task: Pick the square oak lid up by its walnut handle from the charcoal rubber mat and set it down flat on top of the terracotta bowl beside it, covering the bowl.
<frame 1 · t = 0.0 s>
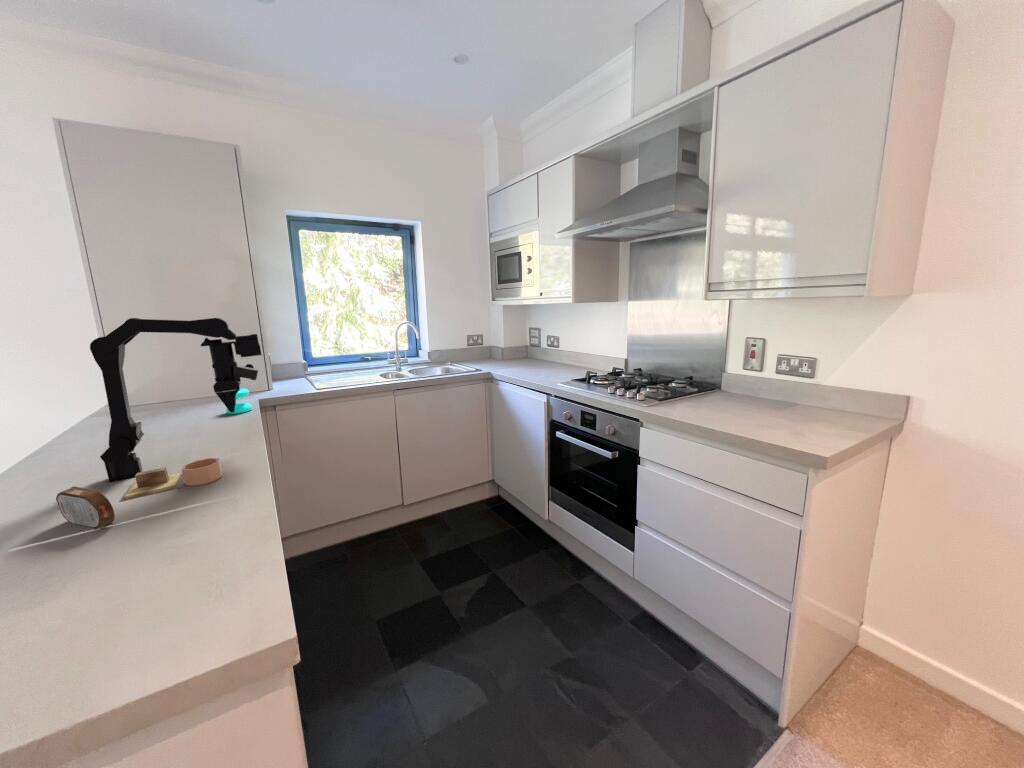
hand: (233, 409, 132), 15 cm above the table, tool pointing down, fingers open, 9 cm apart
tin: (89, 525, 94), on the table
bowl: (204, 481, 115), on the table
pair of cyan discs: (239, 412, 192), on the table
lid: (154, 486, 111), resting on mat
mat: (155, 488, 112), on the table
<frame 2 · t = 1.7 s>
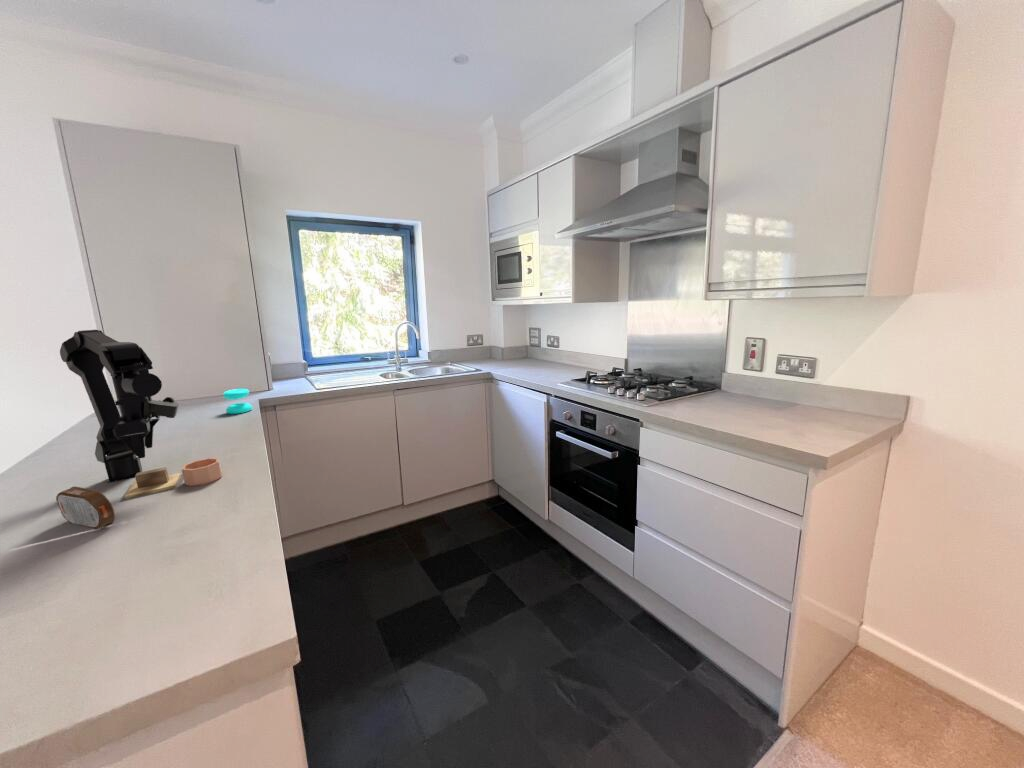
hand: (146, 452, 110), 10 cm above the table, tool pointing down, fingers open, 9 cm apart
nothing on the table moved.
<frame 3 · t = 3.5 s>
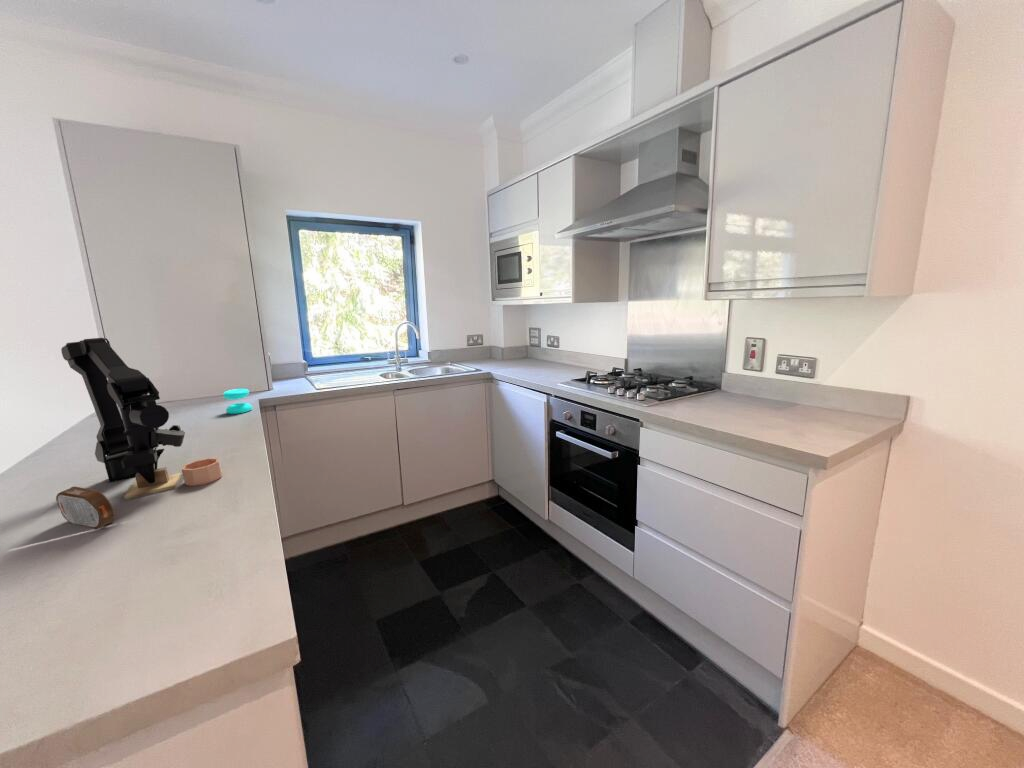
hand: (153, 481, 111), 2 cm above the table, tool pointing down, fingers closed on lid, 2 cm apart
lid: (154, 486, 112), resting on mat, touching gripper
everything else where it was.
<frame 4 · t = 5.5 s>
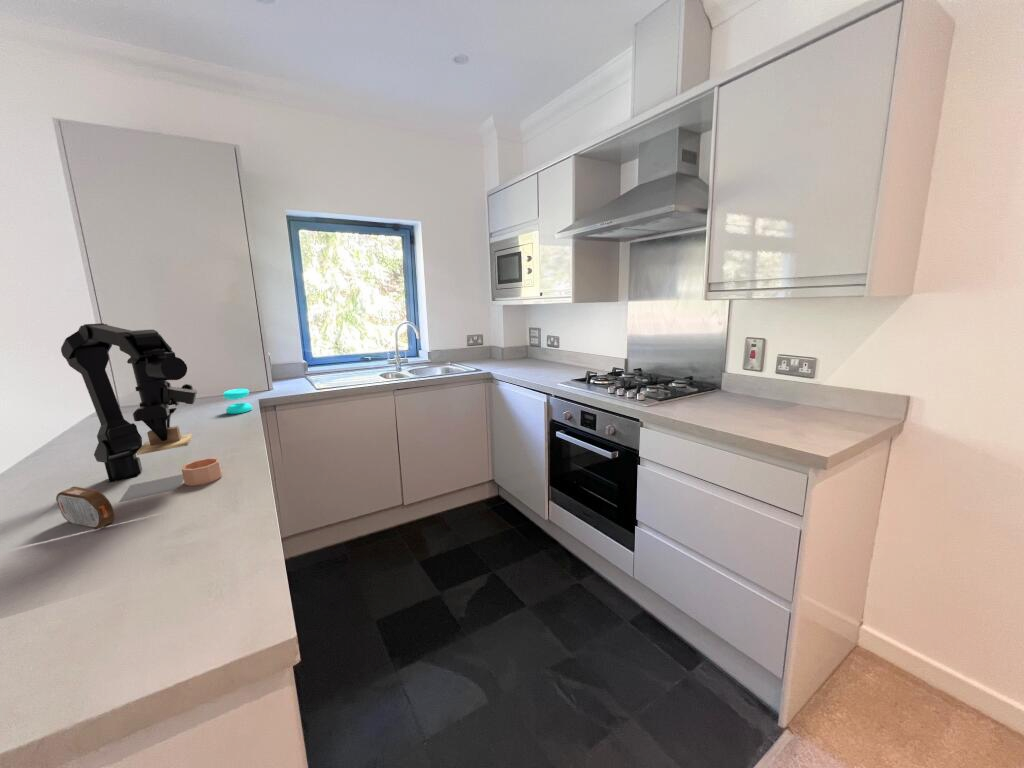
hand: (165, 439, 110), 13 cm above the table, tool pointing down, fingers closed on lid, 2 cm apart
lid: (166, 445, 110), point 11 cm above the table, touching gripper
everything else where it was.
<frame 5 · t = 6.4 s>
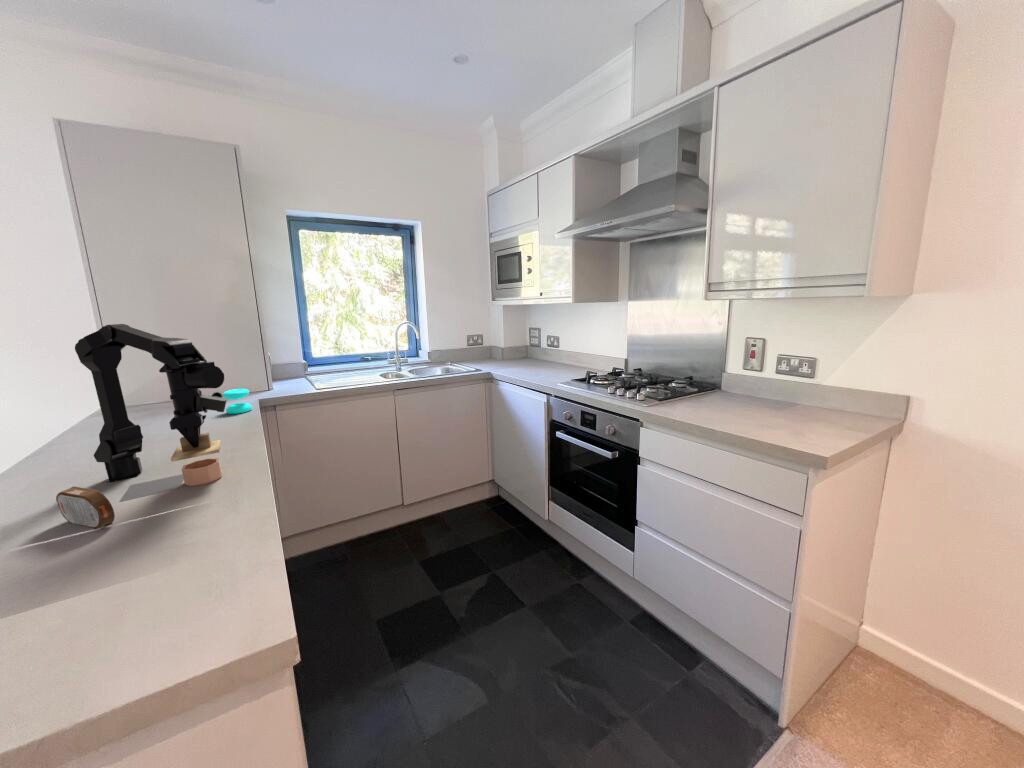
hand: (196, 445, 113), 10 cm above the table, tool pointing down, fingers closed on lid, 2 cm apart
lid: (197, 451, 113), point 8 cm above the table, touching gripper
everything else where it was.
when the fingers open (8 cm above the table, at t = 7.4 s): lid drops 1 cm, resting on bowl.
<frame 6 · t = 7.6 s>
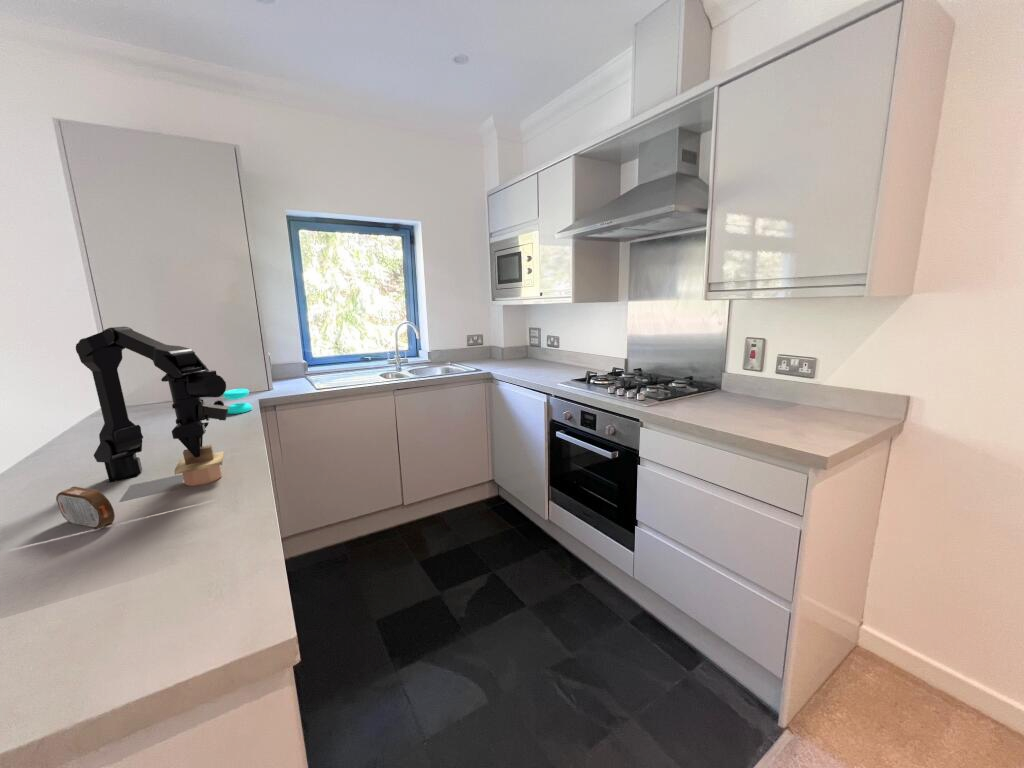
hand: (198, 454, 113), 8 cm above the table, tool pointing down, fingers open, 5 cm apart
bowl: (204, 481, 115), on the table, touching lid
lid: (200, 463, 114), point 5 cm above the table, touching bowl
everything else where it was.
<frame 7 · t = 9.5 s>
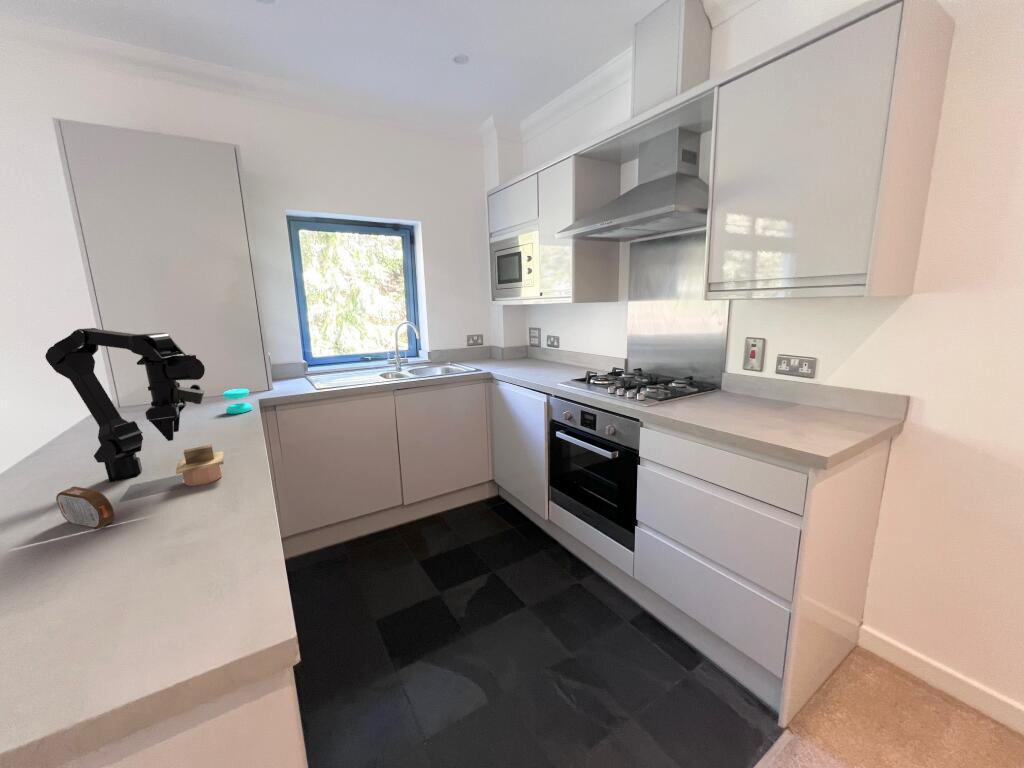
hand: (173, 435, 117), 12 cm above the table, tool pointing down, fingers open, 9 cm apart
bowl: (204, 481, 115), on the table
lid: (201, 463, 114), point 5 cm above the table
everything else where it was.
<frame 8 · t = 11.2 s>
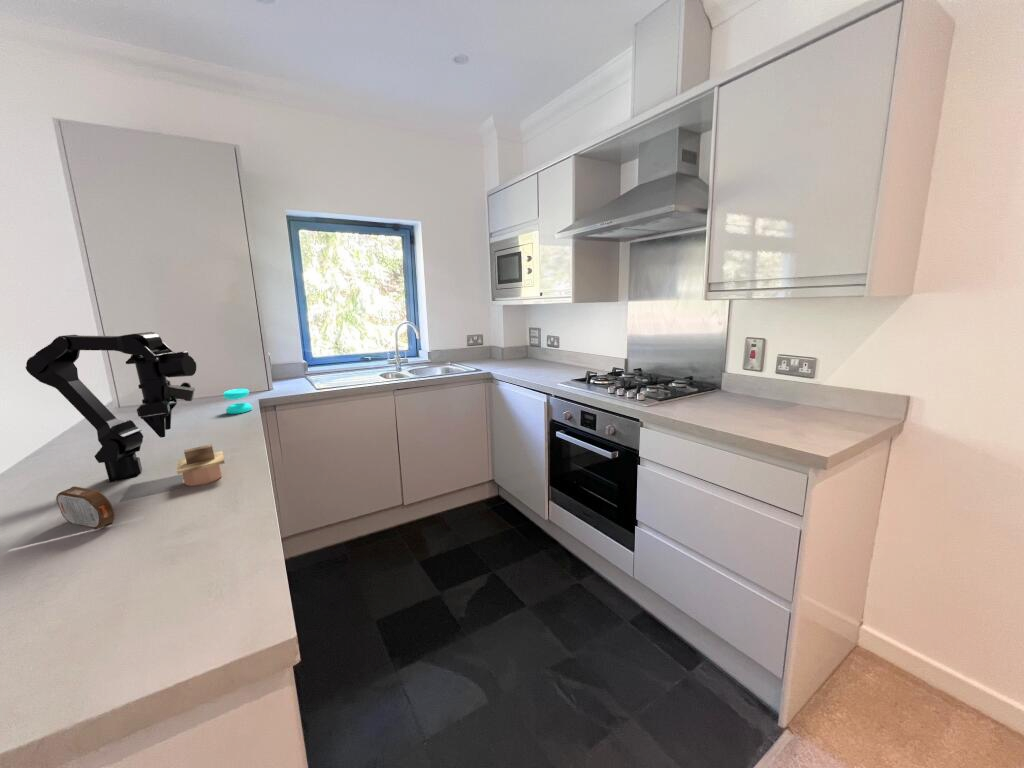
hand: (165, 433, 119), 12 cm above the table, tool pointing down, fingers open, 9 cm apart
bowl: (204, 481, 115), on the table, touching lid
lid: (201, 463, 114), point 5 cm above the table, touching bowl
everything else where it was.
at the end: lid 0.3 cm from the bowl (horizontally); lid point 4.9 cm above the table; lid tilted 0° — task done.
